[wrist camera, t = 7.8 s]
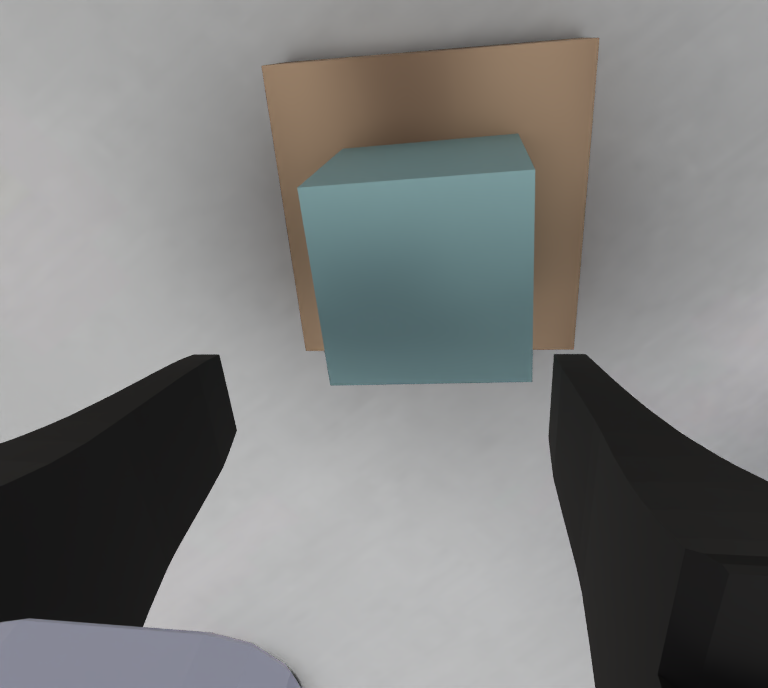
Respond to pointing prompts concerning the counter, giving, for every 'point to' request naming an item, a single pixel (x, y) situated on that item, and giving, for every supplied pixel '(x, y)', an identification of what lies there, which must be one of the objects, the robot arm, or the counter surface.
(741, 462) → the counter surface
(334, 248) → the teal cube
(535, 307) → the walnut block
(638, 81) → the counter surface
